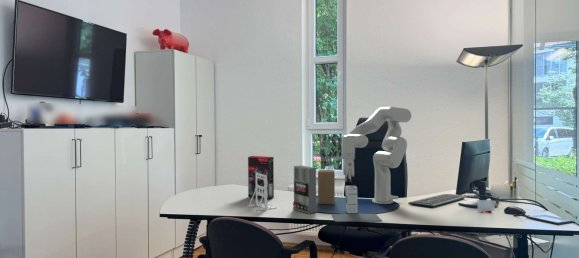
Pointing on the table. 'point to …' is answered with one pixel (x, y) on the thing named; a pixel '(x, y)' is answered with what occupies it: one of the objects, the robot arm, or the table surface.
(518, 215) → the table surface
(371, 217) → the mat
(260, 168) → the graphics card box
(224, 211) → the table surface
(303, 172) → the grey labelled carton
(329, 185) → the block
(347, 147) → the robot arm
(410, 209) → the table surface
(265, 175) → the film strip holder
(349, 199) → the syrup box
